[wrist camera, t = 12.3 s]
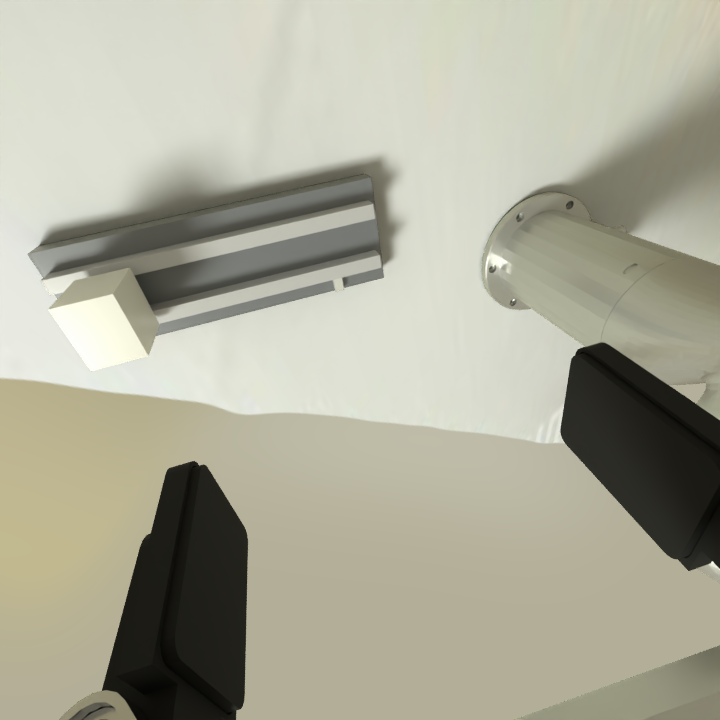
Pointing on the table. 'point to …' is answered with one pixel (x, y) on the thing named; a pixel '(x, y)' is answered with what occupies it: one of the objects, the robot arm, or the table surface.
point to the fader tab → (107, 319)
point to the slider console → (233, 253)
